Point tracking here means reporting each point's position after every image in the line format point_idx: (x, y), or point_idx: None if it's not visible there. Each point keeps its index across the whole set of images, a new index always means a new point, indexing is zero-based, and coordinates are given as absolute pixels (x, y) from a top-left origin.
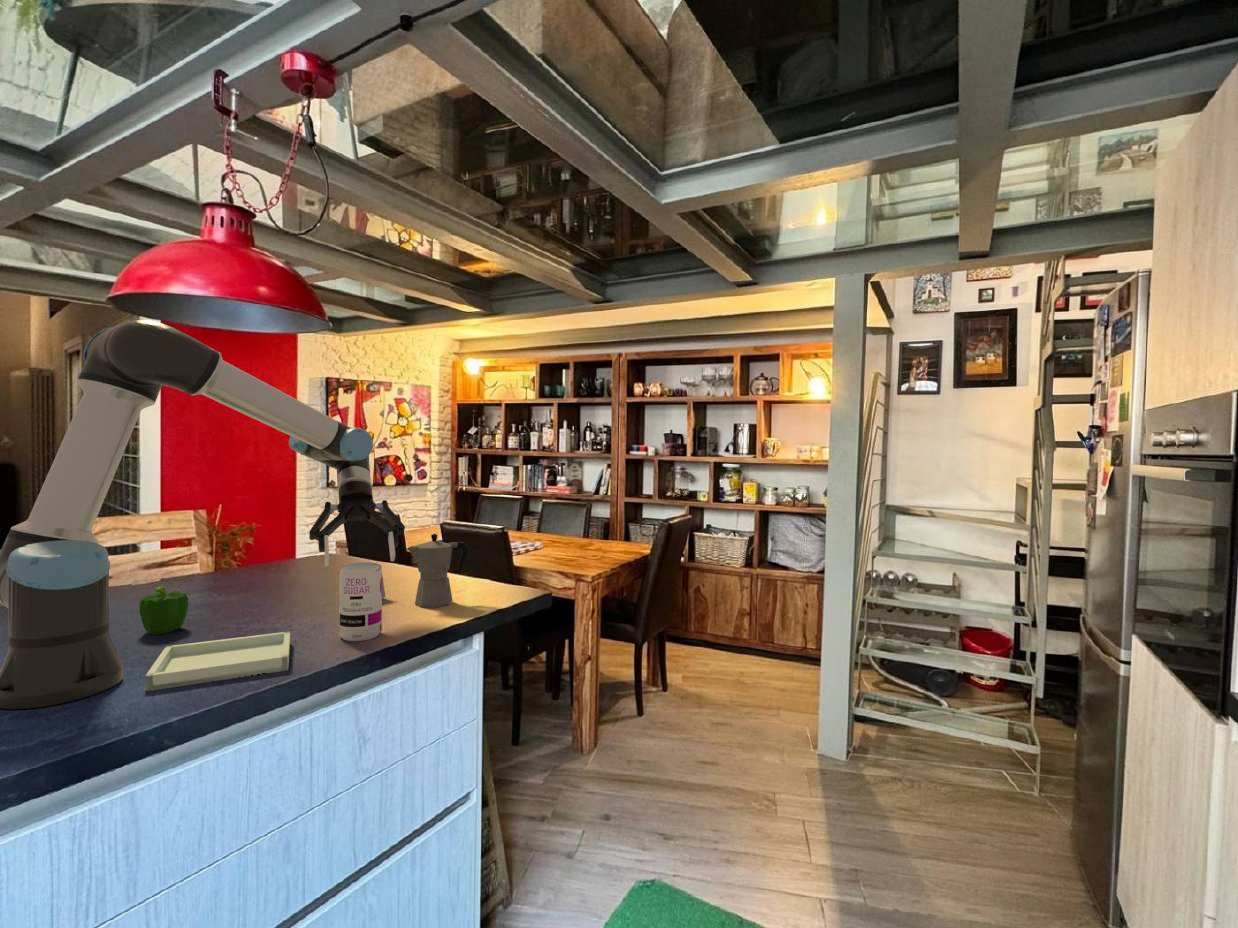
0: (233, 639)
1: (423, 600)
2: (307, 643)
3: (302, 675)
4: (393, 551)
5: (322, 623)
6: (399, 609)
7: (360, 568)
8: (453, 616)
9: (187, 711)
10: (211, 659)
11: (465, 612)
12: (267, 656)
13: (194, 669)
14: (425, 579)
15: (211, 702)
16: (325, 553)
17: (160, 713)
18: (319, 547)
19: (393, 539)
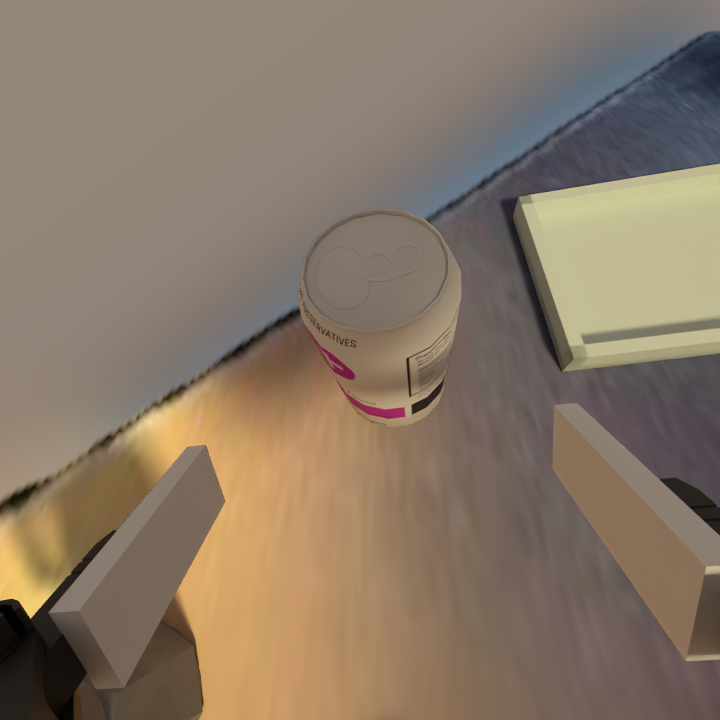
0: (711, 330)
1: (173, 651)
2: (516, 361)
3: (480, 193)
4: (186, 457)
5: (520, 556)
6: (268, 653)
7: (375, 228)
8: (148, 478)
9: (611, 114)
10: (704, 277)
11: (105, 510)
12: (576, 265)
13: (681, 170)
14: (99, 709)
15: (590, 132)
16: (597, 426)
17: (649, 114)
18: (686, 483)
19: (117, 531)
